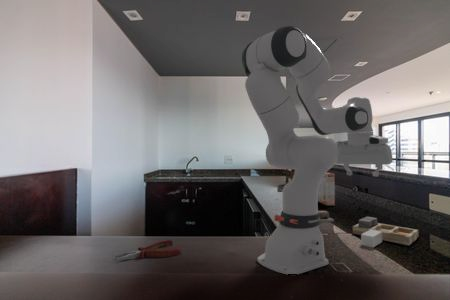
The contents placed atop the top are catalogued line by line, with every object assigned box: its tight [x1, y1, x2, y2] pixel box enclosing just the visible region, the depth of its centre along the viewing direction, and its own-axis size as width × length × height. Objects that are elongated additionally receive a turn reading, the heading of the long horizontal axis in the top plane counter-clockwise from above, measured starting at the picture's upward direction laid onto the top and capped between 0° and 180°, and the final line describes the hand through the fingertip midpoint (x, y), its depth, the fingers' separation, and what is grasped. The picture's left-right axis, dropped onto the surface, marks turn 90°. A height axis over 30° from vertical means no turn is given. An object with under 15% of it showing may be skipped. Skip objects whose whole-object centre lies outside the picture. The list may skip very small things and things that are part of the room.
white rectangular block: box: [360, 230, 383, 248], centre depth 95 cm, size 9×4×4 cm, turn 131°
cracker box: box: [318, 171, 336, 207], centre depth 172 cm, size 14×6×21 cm, turn 1°
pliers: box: [114, 239, 182, 261], centre depth 86 cm, size 12×20×3 cm, turn 120°
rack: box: [352, 216, 419, 246], centre depth 104 cm, size 13×20×6 cm
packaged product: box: [318, 210, 334, 223], centre depth 130 cm, size 18×5×10 cm
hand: (362, 175), depth 99 cm, fingers open, 8 cm apart
